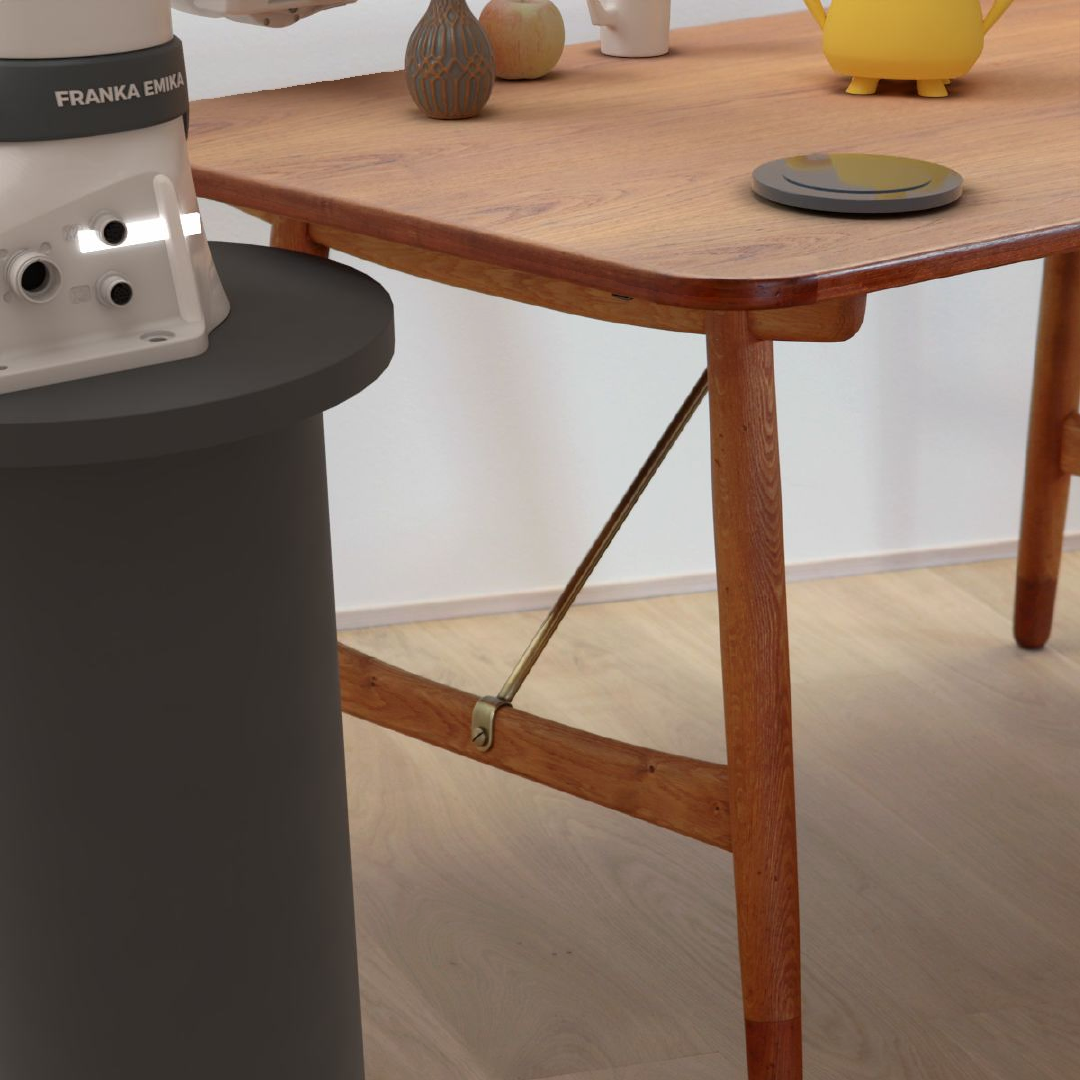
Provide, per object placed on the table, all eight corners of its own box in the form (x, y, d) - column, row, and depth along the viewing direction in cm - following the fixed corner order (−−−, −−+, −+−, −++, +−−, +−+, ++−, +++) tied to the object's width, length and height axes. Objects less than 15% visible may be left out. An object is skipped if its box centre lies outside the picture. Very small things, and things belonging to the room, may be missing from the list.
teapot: (1026, 90, 141) (1043, -63, 136) (895, 108, 134) (908, -52, 129) (907, 66, 152) (919, -77, 147) (780, 82, 145) (788, -67, 140)
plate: (880, 231, 100) (881, 209, 100) (708, 195, 109) (709, 174, 108) (1002, 193, 109) (1004, 172, 108) (834, 162, 117) (835, 143, 116)
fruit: (507, 67, 153) (506, -28, 150) (579, 74, 149) (579, -23, 146) (459, 80, 147) (456, -18, 144) (532, 88, 143) (531, -13, 140)
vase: (412, 125, 130) (407, 3, 126) (401, 108, 136) (396, -9, 132) (503, 120, 131) (501, 0, 127) (488, 104, 137) (485, -12, 133)
